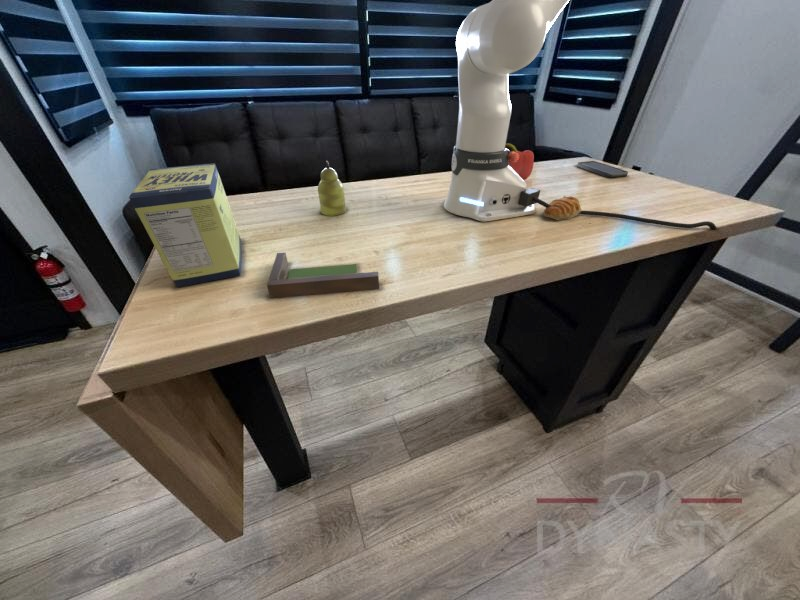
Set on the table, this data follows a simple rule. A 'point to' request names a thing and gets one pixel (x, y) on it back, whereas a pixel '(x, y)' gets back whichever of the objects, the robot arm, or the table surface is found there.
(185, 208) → the protein box
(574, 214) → the pastry
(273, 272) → the corner guard
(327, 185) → the pear
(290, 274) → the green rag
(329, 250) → the table surface
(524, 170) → the vegetable
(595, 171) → the phone
